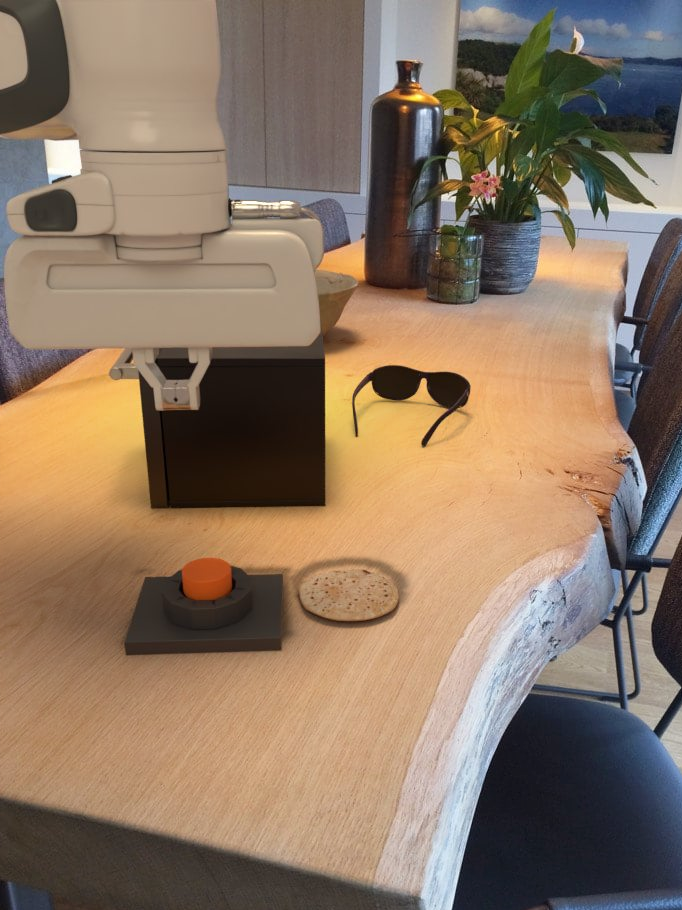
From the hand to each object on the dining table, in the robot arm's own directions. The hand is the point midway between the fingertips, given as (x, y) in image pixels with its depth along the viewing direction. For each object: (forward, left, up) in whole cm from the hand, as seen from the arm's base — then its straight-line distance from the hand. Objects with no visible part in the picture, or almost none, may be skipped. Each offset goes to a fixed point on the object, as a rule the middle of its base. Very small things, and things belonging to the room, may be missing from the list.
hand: (178, 408), depth 58 cm
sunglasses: (-14, +44, -16) cm, 50 cm away
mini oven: (-16, +20, -16) cm, 31 cm away
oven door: (-23, +13, -16) cm, 31 cm away
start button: (+3, -1, -14) cm, 14 cm away
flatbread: (+9, +8, -16) cm, 20 cm away
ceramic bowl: (-53, +61, -16) cm, 83 cm away
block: (+3, -1, -16) cm, 16 cm away
